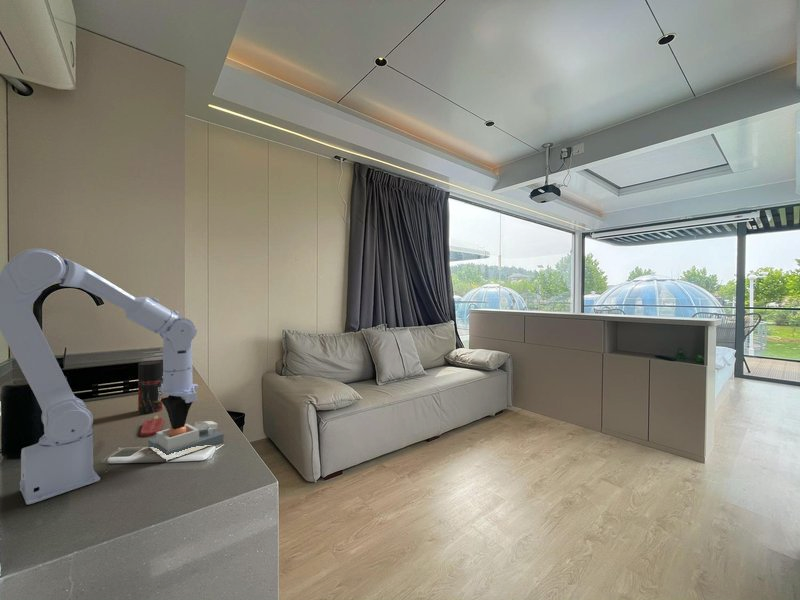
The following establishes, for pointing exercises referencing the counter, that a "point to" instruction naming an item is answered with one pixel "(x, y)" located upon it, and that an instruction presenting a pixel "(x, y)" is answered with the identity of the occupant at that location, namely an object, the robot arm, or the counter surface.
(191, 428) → the breaker panel
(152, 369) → the deodorant
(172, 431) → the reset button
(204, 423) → the rocker
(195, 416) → the counter surface
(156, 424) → the popsicle
